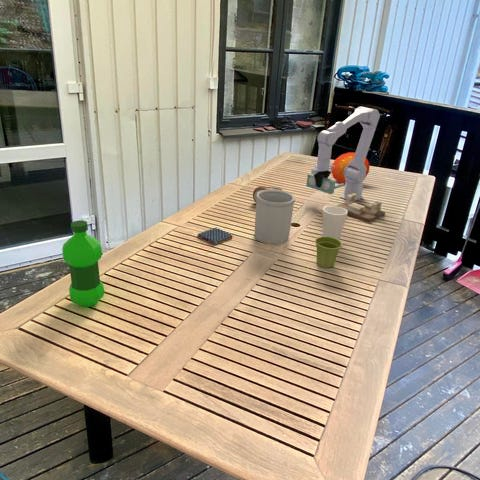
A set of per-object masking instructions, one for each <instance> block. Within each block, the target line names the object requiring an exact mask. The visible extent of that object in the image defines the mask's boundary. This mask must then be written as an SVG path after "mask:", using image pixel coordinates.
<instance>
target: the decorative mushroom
mask: <svg viewBox="0 0 480 480" xmlns="http://www.w3.org/2000/svg"><path fill="white" fill-rule="evenodd" d="M355 153H356V151H355V152H346V153H343V154H341V155H338V157H337V158H335V160H334V161H333V162H332V164H331V165H333V169H330V171H331V175H332V178H333V179H334V181H335V182H338V183H339V184H342V183H343V184H344V185H345V184H346V180H345V177H344V170H345V168H346V167H347V165H348V163H349V162H351V161H353V159H354V156H355ZM364 165H365V166H366V168H367V170H366V177H367V176H368V174H369V173H370V163H369V160H368V159H367V157H366V158H365V161H364ZM355 168H356V167H355ZM357 169H358V168H357ZM366 177H365V179H366Z"/></svg>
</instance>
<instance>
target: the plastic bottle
mask: <svg viewBox="0 0 480 480" xmlns="http://www.w3.org/2000/svg"><path fill="white" fill-rule="evenodd" d="M70 227H71V232H72V233H73V235H72V236H71V237H70V238H68V240H66V241H65V242H64V243H63V245H62V248H61V250H62V257H63V258H62V259H63V260H64V261H63V262H64V263H66V265H68V266H69V274H70V281H71V283H70V285H69V288H68V290H69V292H68V293H69V298H70V300H71V302H73V303H74V304H76V305H78V306H80V307H83V308H90V307H94V306H95V305H96V304H98V303H99V301H100V300H101V299H102V298H104V296H105V287H104V283H103V281H101V279H100V268H99V261H100V259H102V256H103V250H102V249H103V248H102V246H101V243H100V241H99V239H97V238H95V237H93V236H92V235H89V234H88V233H87V231H88V230H89V227H88V221H85V220H74V221H72V222H71V223H70Z"/></svg>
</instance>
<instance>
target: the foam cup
mask: <svg viewBox="0 0 480 480" xmlns="http://www.w3.org/2000/svg"><path fill="white" fill-rule="evenodd" d="M347 213H348V211H347V210H346V209H345V208H342V207H338V206H337V205H326V206H324V207H323V208H322V237H325V236H326V237H333V238H336V239H338V240H339V241H340V239H341V236H342V232H343V229H344V226H345V223H346V220H347V218H348V215H347Z"/></svg>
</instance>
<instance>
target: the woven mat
mask: <svg viewBox="0 0 480 480" xmlns="http://www.w3.org/2000/svg"><path fill="white" fill-rule="evenodd" d="M196 237H197V238H199V239H200V240H202V241H204V242H206V243H208V244H211V245H212V246H217V245H220V244H221V243H224V242H226V241H229V240H232V239H233V235H232V234H231V233H229V232H226V231H225V230H223V229H221V228H218V227H216V226H215V227H213V228H211V229H210V228H209V229H208V230H204V231H202V232H199V233H198V234H197V236H196Z"/></svg>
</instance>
